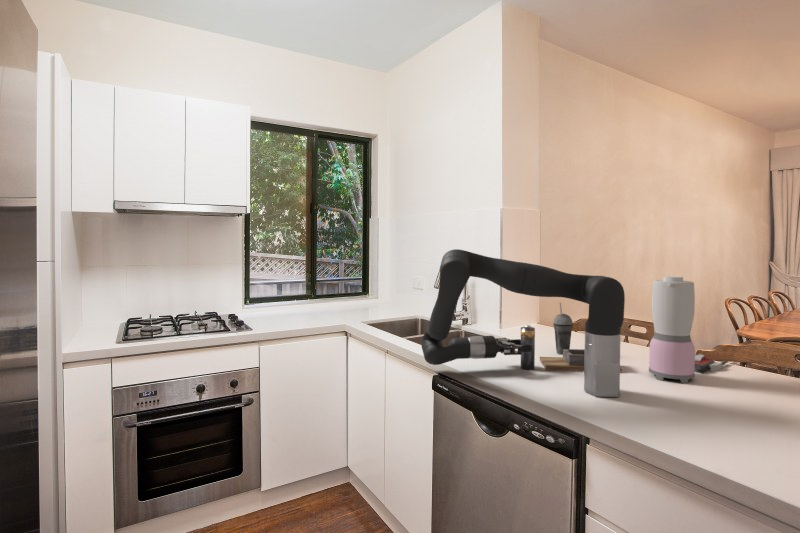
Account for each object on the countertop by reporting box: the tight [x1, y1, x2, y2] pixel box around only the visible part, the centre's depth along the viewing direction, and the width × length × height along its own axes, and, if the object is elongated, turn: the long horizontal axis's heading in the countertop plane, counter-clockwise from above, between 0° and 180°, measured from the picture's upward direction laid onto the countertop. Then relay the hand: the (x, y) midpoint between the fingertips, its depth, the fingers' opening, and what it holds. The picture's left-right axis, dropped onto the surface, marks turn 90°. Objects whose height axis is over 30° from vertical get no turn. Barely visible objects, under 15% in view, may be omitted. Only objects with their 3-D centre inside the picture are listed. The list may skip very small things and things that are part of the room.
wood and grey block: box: [539, 348, 623, 374], centre depth 145 cm, size 12×24×8 cm, turn 82°
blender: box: [648, 275, 696, 384], centre depth 134 cm, size 16×12×32 cm
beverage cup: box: [553, 302, 574, 356], centre depth 163 cm, size 7×7×20 cm
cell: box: [520, 324, 536, 371], centre depth 144 cm, size 5×5×15 cm
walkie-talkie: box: [694, 353, 729, 374], centre depth 144 cm, size 9×4×20 cm
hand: (526, 345), depth 144 cm, fingers open, 8 cm apart
